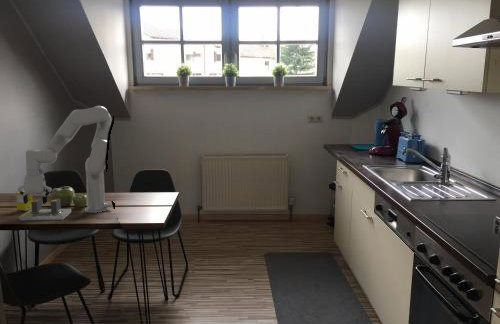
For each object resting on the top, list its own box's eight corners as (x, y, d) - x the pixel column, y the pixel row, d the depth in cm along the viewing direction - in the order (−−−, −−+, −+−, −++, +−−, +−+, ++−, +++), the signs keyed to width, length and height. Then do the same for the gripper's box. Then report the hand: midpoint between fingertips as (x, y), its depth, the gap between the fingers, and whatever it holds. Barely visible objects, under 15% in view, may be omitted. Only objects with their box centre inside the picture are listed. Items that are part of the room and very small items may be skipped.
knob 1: (44, 210, 241) (43, 198, 240) (39, 213, 235) (38, 201, 234) (35, 210, 241) (34, 198, 240) (30, 213, 234) (29, 201, 233)
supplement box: (33, 209, 251) (32, 191, 249) (25, 212, 245) (24, 193, 244) (25, 208, 252) (23, 190, 251) (17, 211, 247) (15, 192, 245)
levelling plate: (71, 212, 246) (71, 208, 246) (62, 219, 231) (62, 215, 231) (30, 212, 244) (30, 209, 244) (19, 220, 229) (19, 216, 229)
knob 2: (62, 209, 242) (62, 198, 241) (58, 213, 236) (57, 201, 235) (53, 210, 242) (53, 198, 241) (49, 213, 235) (48, 201, 234)
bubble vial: (50, 213, 235) (50, 210, 235) (49, 214, 233) (48, 211, 233) (40, 213, 235) (40, 210, 234) (38, 214, 233) (38, 211, 232)
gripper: (53, 171, 239) (54, 201, 241) (20, 170, 237) (21, 201, 240) (48, 173, 232) (49, 205, 234) (14, 173, 230) (15, 204, 232)
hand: (35, 203), depth 237 cm, fingers open, 9 cm apart
